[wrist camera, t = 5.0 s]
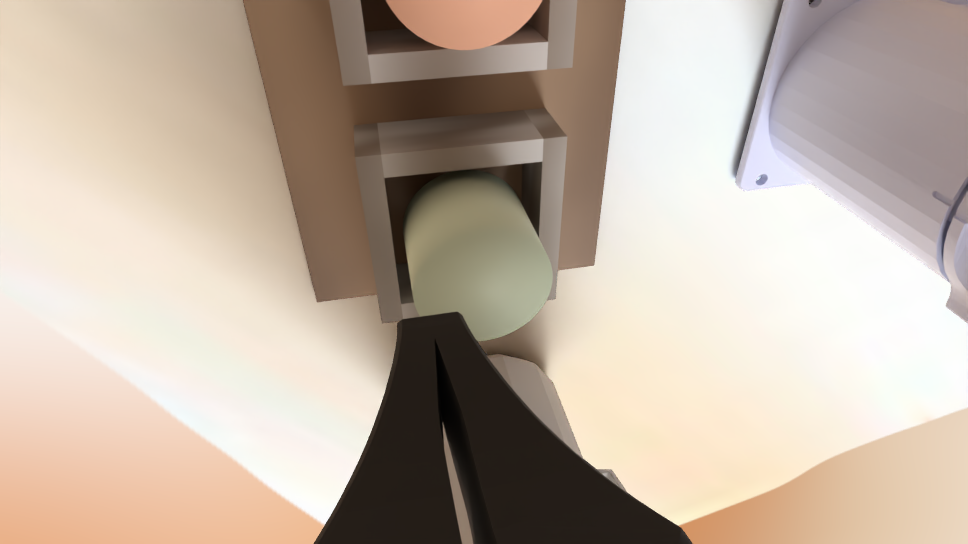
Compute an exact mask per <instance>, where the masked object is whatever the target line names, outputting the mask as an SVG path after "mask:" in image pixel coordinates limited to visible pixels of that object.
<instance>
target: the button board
mask: <svg viewBox="0 0 968 544" xmlns="http://www.w3.org/2000/svg"><path fill="white" fill-rule="evenodd" d="M625 2H626V0H543V1H542V2H541V4H540V6H539V7H538V9H537V10H536V12H535V13H534V14H533V15H532V17H531V18H530V19H529V20H528V21H527V22H526V23H525V24H524V25H523V26H522V27H521V28H520V29H519V30H518V31H516V32H515V33H514V34H513V35H511V36H509V37H508V38H506V39H504V40H503V41H501V42H498V43H496V44H494V45H492V46H488V47H484V48H481V49H474V50H454V49H447V48H444V47H440V46H437V45H434V44H432V43H430V42H427V41H425V40H424V39H422V38H420V37H419V36H417V35H416V34H414V33H413V32H412V31H411V30H409V29H408V28H407V27H406V26H405V25H404V24H403V23H402V22H401V21H400V20H399V19H398V18H397V16H396V15H395V14H394V12H393V11H392V10H391V8H390V7H389V5H388V3H387V2H386V0H243V3H244V7H245V11H246V15H247V19H248V23H249V27H250V31H251V35H252V39H253V43H254V47H255V51H256V55H257V59H258V64H259V68H260V72H261V76H262V80H263V84H264V88H265V92H266V96H267V100H268V104H269V108H270V112H271V116H272V120H273V125H274V129H275V133H276V137H277V141H278V145H279V149H280V153H281V157H282V161H283V165H284V169H285V173H286V177H287V181H288V186H289V190H290V194H291V198H292V202H293V206H294V210H295V214H296V218H297V222H298V226H299V230H300V234H301V238H302V242H303V247H304V251H305V255H306V259H307V263H308V267H309V271H310V275H311V279H312V283H313V287H314V291H315V295H316V299H317V302H323V301H330V300H338V299H345V298H353V297H360V296H368V295H375V294H377V295H378V301H379V308H380V314H381V320H382V323H389V322H396V321H401V320H402V319H407V318H414V317H420V316H419V314H418V312H417V310H416V307H415V304H414V299H413V293H412V287H411V280H410V274H409V267H408V261H407V255H406V248H405V242H404V235H403V219H404V215H405V211H406V209H407V207H408V204H409V203H410V201H411V199H412V198H413V197H414V195H415V194H416V193H417V192H418V191H419V190H420V189H421V188H422V187H423V186H424V185H425V184H427V183H428V182H429V181H431V180H433V179H435V178H436V177H438V176H441V175H443V174H446V173H449V172H453V171H458V170H479V171H484V172H488V173H490V174H493V175H495V176H497V177H499V178H501V179H502V180H504V181H505V182H506V183H507V184H509V185H510V186H511V187H512V189H513V190H514V191H515V192H516V194H517V196H518V198H519V200H520V202H521V204H522V206H523V208H524V210H525V212H526V214H527V216H528V218H529V220H530V222H531V224H532V226H533V228H534V230H535V232H536V234H537V236H538V237H539V239H540V241H541V243H542V245H543V247H544V249H545V251H546V253H547V255H548V257H549V260H550V263H551V266H552V272H553V281H552V287H551V290H550V294H549V296H548V298H547V300H553V299H556V286H557V272H558V270H563V269H571V268H579V267H586V266H594V262H595V254H596V246H597V237H598V229H599V220H600V212H601V204H602V195H603V187H604V178H605V170H606V162H607V153H608V145H609V136H610V128H611V120H612V111H613V103H614V95H615V86H616V78H617V69H618V61H619V53H620V44H621V36H622V27H623V19H624V11H625Z"/></svg>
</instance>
